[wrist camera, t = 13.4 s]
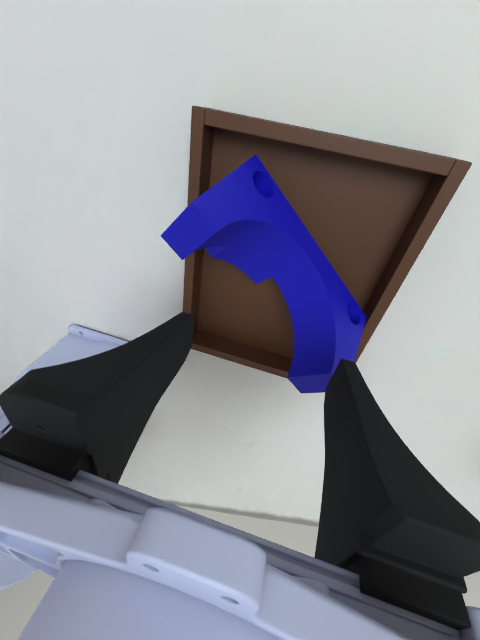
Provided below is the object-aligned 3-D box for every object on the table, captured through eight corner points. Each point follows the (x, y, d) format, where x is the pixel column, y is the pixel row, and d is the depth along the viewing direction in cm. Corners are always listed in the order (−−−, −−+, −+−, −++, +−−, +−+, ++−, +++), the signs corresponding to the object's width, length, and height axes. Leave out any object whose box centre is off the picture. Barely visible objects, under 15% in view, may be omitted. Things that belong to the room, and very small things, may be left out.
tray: (191, 329, 26) (180, 346, 24) (208, 108, 16) (191, 105, 14) (336, 373, 24) (337, 394, 22) (453, 157, 14) (473, 162, 12)
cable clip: (208, 200, 18) (148, 248, 14) (255, 154, 15) (192, 201, 11) (311, 330, 22) (282, 393, 18) (366, 317, 18) (345, 391, 15)
